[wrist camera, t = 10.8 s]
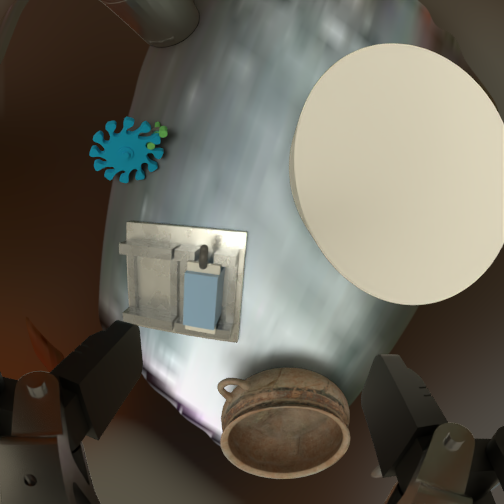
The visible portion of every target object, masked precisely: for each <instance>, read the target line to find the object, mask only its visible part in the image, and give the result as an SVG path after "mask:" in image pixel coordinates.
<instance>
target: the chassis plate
mask: <svg viewBox="0 0 504 504" xmlns="http://www.w3.org/2000/svg"><path fill="white" fill-rule="evenodd" d="M246 242H247V232H246V231H236V230H226V229H216V228H205V227H195V226H184V225H173V224H161V223H149V222H137V221H129V222H127V240H126V241H124V242H121V243H119V254H125V255H127V276H128V295H129V307H128V308H127V309H126V310H125V311H124V312H123V321H125V322H129V323H132V324H136V325H138V326H142V327H147V328H152V329H157V330H162V331H167V332H173V333H178V334H184V335H189V336H195V337H202V338H208V339H215V340H221V341H228V342H236V343H237V342H238V337H239V324H240V312H241V300H242V288H243V277H244V265H245V253H246ZM203 244H205V245H207V246H208V248H209V250H208V263H211V264H218V265H221V266H222V267H225V275H224V286H223V298H222V310H221V315H220V317H219V320H218V322H217V324H216V333H215V334H210V333H204V332H198V331H193V330H188V329H185V325H183V307H184V278H185V272H186V271H187V262H188V261H189V260H190V261H197V262H199V255H200V247H201V245H203Z"/></svg>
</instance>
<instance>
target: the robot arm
mask: <svg viewBox="0 0 504 504" xmlns="http://www.w3.org/2000/svg"><path fill="white" fill-rule="evenodd" d="M100 1H102V3H104V4H105V5H106V6H107V7H108V8H109V9H111V10H112V11H113V12H114V13H115V14H116V15H117V16H119V17H120V18H121V19H122V20H123V21H124V22H125V23H126V24H127V25H129V26H130V27H131V28H132V29H133V30H134V31H135V32H136V33H137V34H138V35H139V36H140V37H141V38H143V39H144V40H145V41H146V42H147V43H148V44H149V45H152V46H155V47H167V46H171V45H174V44H177V43H179V42H181V41H183V40H184V39H185V38H187V37H188V36H189V35H190V34H191V33H192V32H193V31H194V30H195V28H196V27H197V24H198V22H199V12H198V10H197V8H196V6H195V4H194V0H100ZM142 367H143V360H142V350H141V339H140V330H139V327H138V325H136V324H132V323H127V322H123V321H119V320H117V321H115V322H114V323H113V324H112V325H111V326H110V327H108V328H107V329H106V330H105V331H100V332H97V333H95V334H93V335H91V336H89V337H88V338H87V339H86V340H85V341H84V342H82V344H81V345H79V346H78V347H77V348H76V349H75V351H74V352H72V353H70V354H69V355H68V356H67V357H66V358H65V359H64V360H63V361H62V362H61V363H60V364H59V365H57V366H56V367H55V368H54V369H53V370H52V371H51V372H50V373H48V372H44V371H35V372H30V373H28V374H25V375H24V376H22V377H21V378H20V379H19V380H14V379H9V378H5V377H2V375H1V372H0V494H1V504H101V503H100V501H99V499H98V497H97V495H96V492H95V489H94V486H93V483H92V479H91V475H90V471H89V468H88V464H87V459H86V455H85V451H84V446H83V443H82V440H83V439H84V437H85V436H86V435H87V436H89V437H92V438H94V439H97V440H99V439H100V437H101V435H102V434H103V432H104V431H105V429H106V428H107V426H108V425H109V423H110V422H111V420H112V419H113V417H114V416H115V414H116V413H117V411H118V409H119V408H120V406H121V405H122V403H123V402H124V400H125V399H126V397H127V396H128V394H129V393H130V391H131V390H132V388H133V387H134V385H135V384H136V382H137V381H138V379H139V378H140V375H141V372H142ZM361 404H362V408H363V411H364V415H365V418H366V421H367V424H368V428H369V431H370V434H371V438H372V441H373V444H374V448H375V451H376V455H377V458H378V462H379V465H380V469H381V472H382V476H383V478H384V477H391V476H397V479H398V482H397V483H396V484H395V485H394V486H393V488H392V490H391V492H390V494H389V496H388V497H387V499H386V500H385V502H384V504H496V503H495V501H494V498H493V496H492V493H491V491H490V490H491V489H492V488H493V487H494V486H495V485H496V484H497V483H498V482H500V484H501V486H502V489H503V491H504V426H503V427H500V428H499V429H498V430H497V432H496V433H495V434H494V436H493V437H492V439H474V437H473V435H472V433H471V432H470V431H469V430H468V429H467V428H465V427H464V426H462V425H460V424H456V423H448V421H447V420H446V418H445V416H444V415H443V413H442V411H441V409H440V408H439V406H438V405H437V403H436V401H435V399H434V398H433V396H431V393H430V391H429V390H428V388H426V385H425V383H424V382H423V380H422V379H421V377H420V376H419V375H418V374H416V373H415V372H414V371H413V370H411V369H410V368H407V367H406V365H405V364H404V362H403V360H402V359H401V357H400V356H399V355H385V354H378V355H377V356H376V357H375V359H374V361H373V364H372V366H371V369H370V372H369V375H368V377H367V380H366V383H365V385H364V388H363V391H362V396H361Z"/></svg>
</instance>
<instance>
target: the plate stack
mask: <svg viewBox="0 0 504 504" xmlns="http://www.w3.org/2000/svg"><path fill="white" fill-rule="evenodd" d="M289 178H290V185H291V191H292V195H293V199H294V202H295V205H296V207H297V210H298V212H299V215H300V217H301V219H302V221H303V222H304V224H305V226H306V228H307V229H308V231H309V232H310V234H311V235H312V237H313V238H314V240H315V242H316V243H317V245H318V246H319V248H320V249H321V251H322V252H323V254H324V255H325V257H326V258H327V259H328V260H329V262H330V263H331V264H332V265H333V266H334V267H335V269H336V270H337V271H338V272H339V273H340V274H342V275H343V276H344V277H345V278H346V279H347V280H348V281H350V282H351V283H352V284H354V285H355V286H356V287H358V288H359V289H361V290H363V291H364V292H366V293H368V294H370V295H372V296H374V297H377V298H379V299H382V300H385V301H388V302H392V303H397V304H405V305H422V304H429V303H434V302H438V301H441V300H444V299H447V298H449V297H452V296H454V295H456V294H457V293H459V292H461V291H463V290H464V289H466V288H467V287H469V286H470V285H471V284H473V283H474V282H475V281H476V280H477V279H478V278H479V277H480V276H481V275H482V274H483V273H484V272H485V271H486V270H487V269H488V267H489V266H490V265H491V264H492V262H493V261H494V259H495V258H496V256H497V255H498V253H499V251H500V249H501V247H502V245H503V243H504V124H503V122H502V119H501V117H500V115H499V113H498V112H497V110H496V108H495V106H494V105H493V103H492V102H491V100H490V99H489V97H488V96H487V95H486V93H485V92H484V91H483V89H482V88H481V87H480V86H479V85H478V84H477V83H476V82H475V81H474V80H473V79H472V78H471V77H470V76H469V75H468V74H467V73H466V72H465V71H464V70H462V69H461V68H460V67H458V66H457V65H456V64H454V63H453V62H451V61H450V60H448V59H446V58H445V57H443V56H441V55H439V54H437V53H434V52H432V51H429V50H427V49H424V48H420V47H417V46H412V45H406V44H379V45H373V46H369V47H365V48H362V49H359V50H357V51H355V52H352V53H350V54H349V55H347V56H345V57H343V58H342V59H340V60H339V61H338V62H336V63H335V64H334V65H333V66H331V67H330V68H329V69H328V70H327V71H326V72H325V73H324V74H323V75H322V77H321V78H320V79H319V80H318V82H317V83H316V84H315V86H314V87H313V89H312V91H311V92H310V94H309V96H308V98H307V100H306V102H305V104H304V107H303V109H302V112H301V115H300V118H299V121H298V124H297V127H296V130H295V133H294V136H293V140H292V144H291V149H290V156H289Z"/></svg>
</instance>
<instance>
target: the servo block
mask: <svg viewBox="0 0 504 504" xmlns="http://www.w3.org/2000/svg"><path fill="white" fill-rule="evenodd" d="M208 250H209V248H208V246H207V245H205V244H203V245H201V247H200V255H199V262H197V261H190V260H189V261H188V262H187V271H186V272H185V278H184V307H183V325H185V329H188V330H193V331H198V332H204V333H210V334H215V333H216V324H217V322H218V320H219V317H220V315H221V310H222V298H223V286H224V275H225V267H222V266H221V265H218V264H211V263H208Z"/></svg>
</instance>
